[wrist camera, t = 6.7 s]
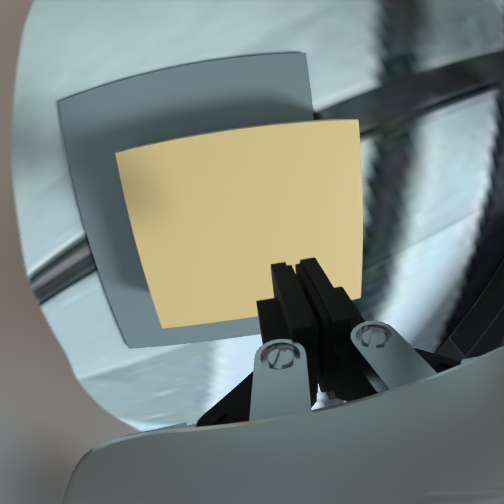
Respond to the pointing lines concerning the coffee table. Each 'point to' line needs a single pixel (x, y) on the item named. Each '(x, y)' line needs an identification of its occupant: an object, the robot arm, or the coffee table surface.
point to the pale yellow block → (243, 214)
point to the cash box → (479, 323)
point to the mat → (159, 129)
